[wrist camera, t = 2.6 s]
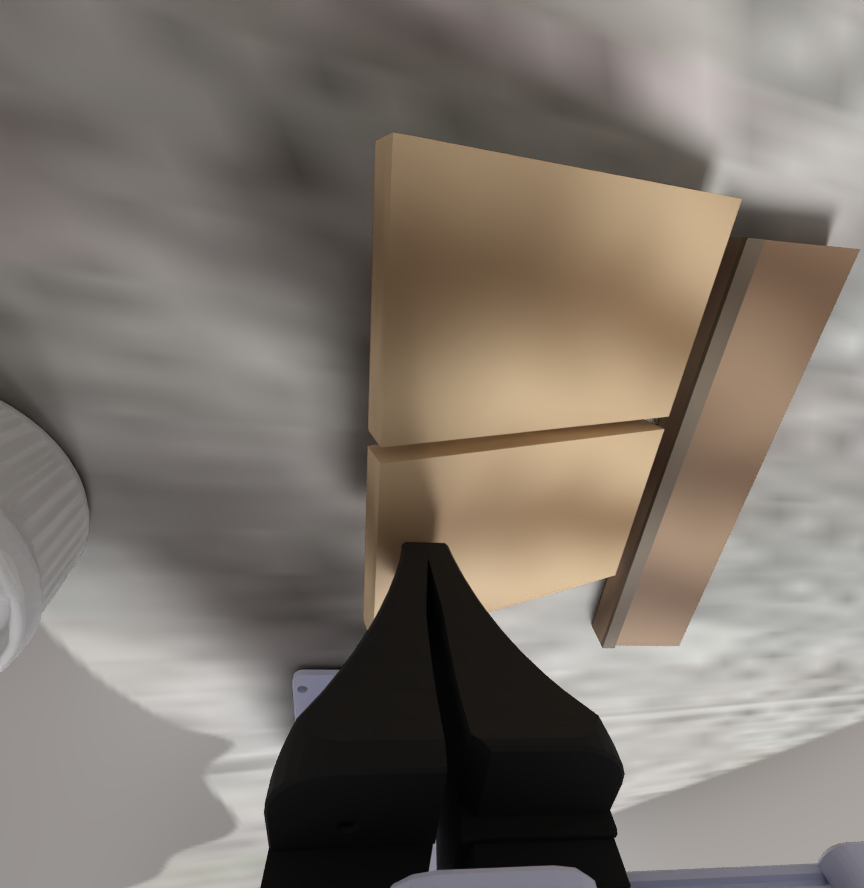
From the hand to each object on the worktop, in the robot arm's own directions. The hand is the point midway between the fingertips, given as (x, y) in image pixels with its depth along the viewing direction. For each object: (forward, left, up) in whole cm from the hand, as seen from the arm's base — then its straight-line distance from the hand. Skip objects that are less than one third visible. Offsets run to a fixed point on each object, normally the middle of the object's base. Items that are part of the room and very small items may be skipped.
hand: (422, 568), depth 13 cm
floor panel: (+1, -11, -5) cm, 13 cm away
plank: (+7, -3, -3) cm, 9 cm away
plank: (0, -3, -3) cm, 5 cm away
